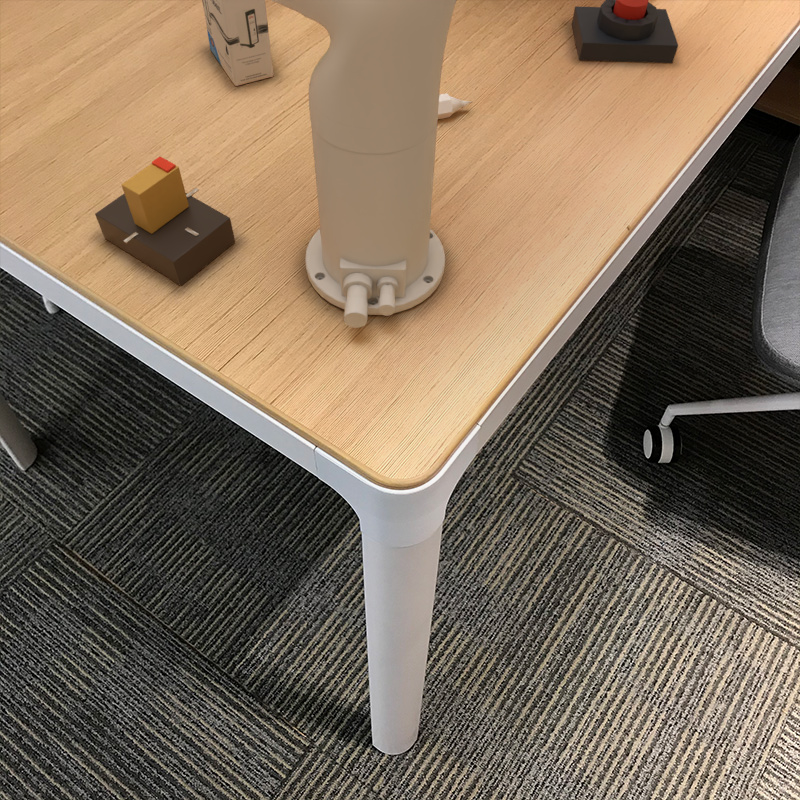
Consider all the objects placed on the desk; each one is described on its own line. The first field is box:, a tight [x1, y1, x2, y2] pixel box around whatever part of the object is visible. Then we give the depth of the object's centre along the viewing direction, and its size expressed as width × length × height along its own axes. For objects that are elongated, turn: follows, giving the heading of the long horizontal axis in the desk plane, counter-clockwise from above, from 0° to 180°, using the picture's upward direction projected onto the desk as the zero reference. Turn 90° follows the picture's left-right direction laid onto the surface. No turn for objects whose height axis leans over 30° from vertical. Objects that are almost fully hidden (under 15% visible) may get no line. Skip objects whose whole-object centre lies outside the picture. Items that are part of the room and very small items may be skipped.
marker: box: [438, 92, 473, 120], centre depth 81 cm, size 3×2×16 cm
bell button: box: [613, 0, 650, 20], centre depth 88 cm, size 4×4×2 cm
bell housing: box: [571, 0, 679, 64], centre depth 90 cm, size 8×11×4 cm
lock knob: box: [121, 156, 189, 234], centre depth 67 cm, size 5×2×5 cm, turn 144°
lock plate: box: [94, 187, 236, 287], centre depth 70 cm, size 10×9×3 cm
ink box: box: [201, 0, 274, 87], centre depth 83 cm, size 9×5×12 cm, turn 27°
